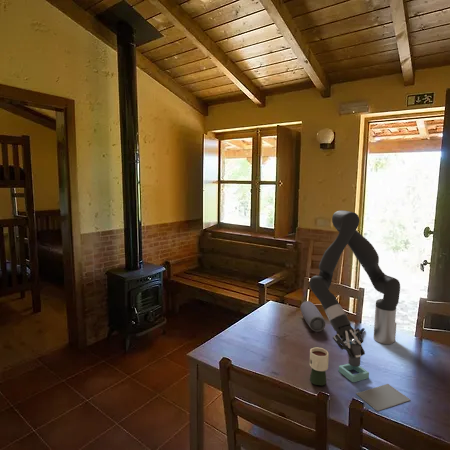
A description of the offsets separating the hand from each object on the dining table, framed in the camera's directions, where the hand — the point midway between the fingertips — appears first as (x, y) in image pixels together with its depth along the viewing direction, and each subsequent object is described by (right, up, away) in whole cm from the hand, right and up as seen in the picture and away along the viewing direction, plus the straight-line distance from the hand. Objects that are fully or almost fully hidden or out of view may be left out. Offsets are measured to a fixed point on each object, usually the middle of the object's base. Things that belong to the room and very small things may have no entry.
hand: (358, 356), depth 130 cm
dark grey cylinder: (-1, -4, +2) cm, 5 cm away
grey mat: (+4, -11, -11) cm, 16 cm away
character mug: (-17, -10, -2) cm, 20 cm away
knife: (+12, -5, +31) cm, 33 cm away
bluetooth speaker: (-5, -3, +50) cm, 50 cm away
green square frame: (-1, -9, +3) cm, 9 cm away
